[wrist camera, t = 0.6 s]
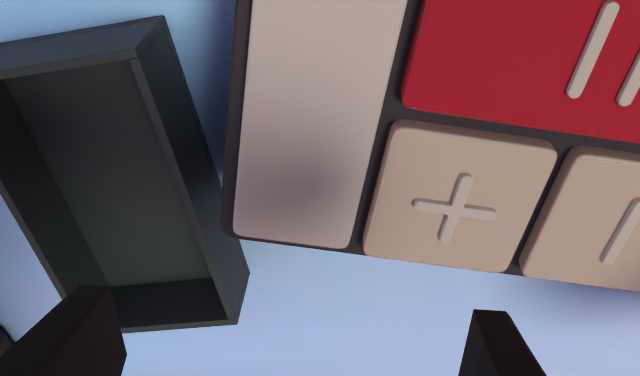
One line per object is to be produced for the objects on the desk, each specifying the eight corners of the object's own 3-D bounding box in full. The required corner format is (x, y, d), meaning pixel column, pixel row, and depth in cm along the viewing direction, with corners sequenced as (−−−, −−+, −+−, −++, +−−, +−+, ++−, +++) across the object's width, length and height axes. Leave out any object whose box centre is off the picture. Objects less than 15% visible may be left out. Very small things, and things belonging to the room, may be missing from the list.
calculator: (668, 312, 19) (213, 254, 18) (617, 230, 23) (233, 177, 22) (906, -26, 13) (240, -144, 12) (786, -67, 17) (261, -161, 16)
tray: (250, 272, 25) (237, 324, 22) (110, 286, 26) (83, 336, 23) (164, 15, 19) (134, 48, 16) (-14, 45, 20) (-67, 80, 17)
